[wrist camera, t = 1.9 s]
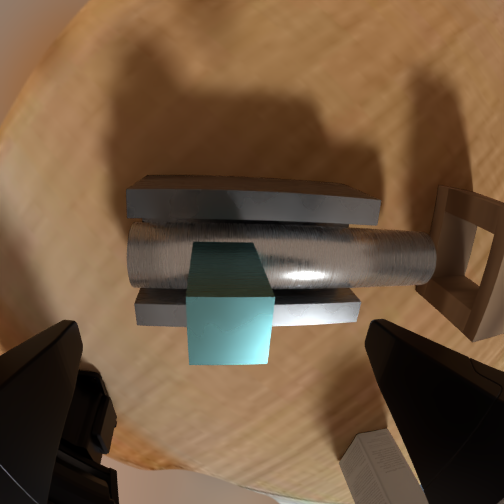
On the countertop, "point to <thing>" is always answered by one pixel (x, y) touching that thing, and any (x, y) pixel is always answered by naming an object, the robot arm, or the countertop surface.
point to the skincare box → (379, 471)
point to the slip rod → (263, 274)
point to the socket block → (456, 260)
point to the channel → (251, 212)
